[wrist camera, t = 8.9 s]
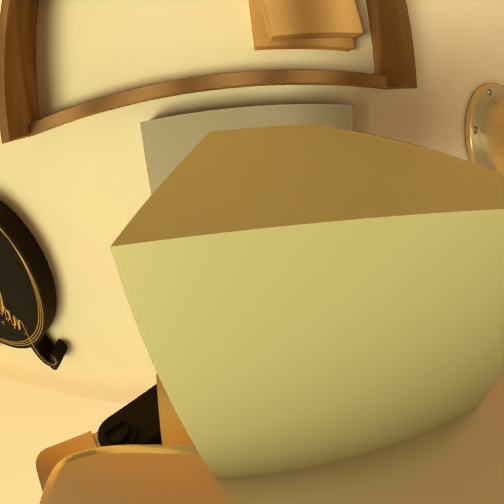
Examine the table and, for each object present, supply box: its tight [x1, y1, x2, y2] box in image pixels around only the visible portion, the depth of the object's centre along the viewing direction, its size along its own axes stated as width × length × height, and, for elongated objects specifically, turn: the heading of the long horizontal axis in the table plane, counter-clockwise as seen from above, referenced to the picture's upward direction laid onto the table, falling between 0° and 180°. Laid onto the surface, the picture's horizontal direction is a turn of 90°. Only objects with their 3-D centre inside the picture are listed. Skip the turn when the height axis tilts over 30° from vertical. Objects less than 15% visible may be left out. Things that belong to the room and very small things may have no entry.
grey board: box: [140, 104, 354, 194], centre depth 24 cm, size 16×14×2 cm
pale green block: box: [111, 125, 504, 478], centre depth 9 cm, size 4×12×10 cm, turn 4°
